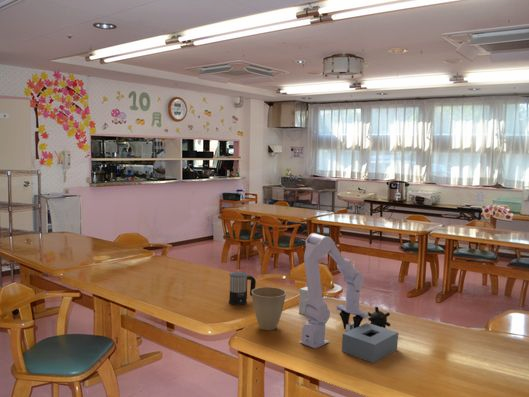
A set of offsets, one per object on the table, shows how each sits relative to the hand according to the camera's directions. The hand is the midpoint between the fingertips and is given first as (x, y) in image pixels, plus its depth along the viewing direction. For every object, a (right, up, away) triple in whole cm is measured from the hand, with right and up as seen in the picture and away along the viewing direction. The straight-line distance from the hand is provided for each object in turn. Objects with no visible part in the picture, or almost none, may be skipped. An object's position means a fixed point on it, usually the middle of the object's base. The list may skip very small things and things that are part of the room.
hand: (350, 330), depth 196 cm
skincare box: (-17, +1, +26) cm, 31 cm away
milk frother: (-51, +4, +41) cm, 65 cm away
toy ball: (+14, -2, +9) cm, 17 cm away
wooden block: (0, -2, 0) cm, 2 cm away
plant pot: (-36, 0, +5) cm, 36 cm away
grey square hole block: (+5, -4, -15) cm, 16 cm away
